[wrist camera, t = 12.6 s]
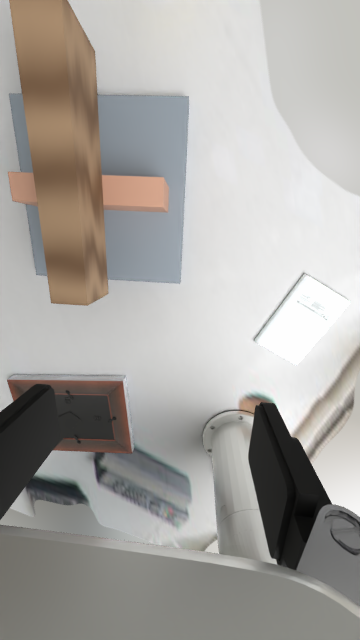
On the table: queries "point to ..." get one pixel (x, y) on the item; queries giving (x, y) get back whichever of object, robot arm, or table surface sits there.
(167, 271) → the ridge board
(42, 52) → the walnut beam
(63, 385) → the picture frame
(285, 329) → the external hard drive
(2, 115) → the table surface
